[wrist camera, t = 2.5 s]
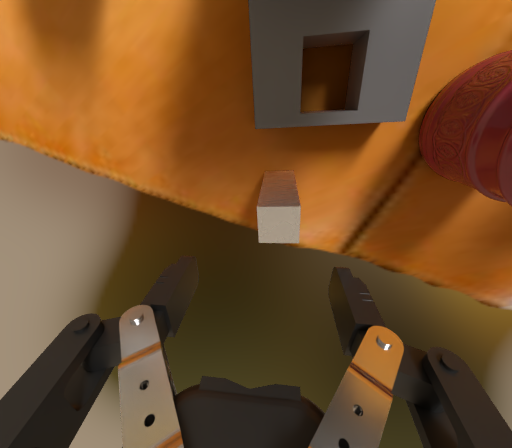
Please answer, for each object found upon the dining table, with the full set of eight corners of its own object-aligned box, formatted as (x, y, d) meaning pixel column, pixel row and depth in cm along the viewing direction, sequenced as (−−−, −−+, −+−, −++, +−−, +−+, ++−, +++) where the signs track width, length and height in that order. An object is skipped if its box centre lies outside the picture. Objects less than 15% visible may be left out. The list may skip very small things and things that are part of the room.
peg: (293, 170, 30) (300, 206, 19) (292, 197, 32) (298, 243, 21) (264, 171, 30) (256, 206, 20) (266, 197, 32) (258, 242, 22)
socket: (433, -116, 17) (483, -189, 13) (384, 118, 26) (405, 121, 21) (249, -85, 19) (240, -140, 15) (259, 124, 27) (255, 128, 23)
